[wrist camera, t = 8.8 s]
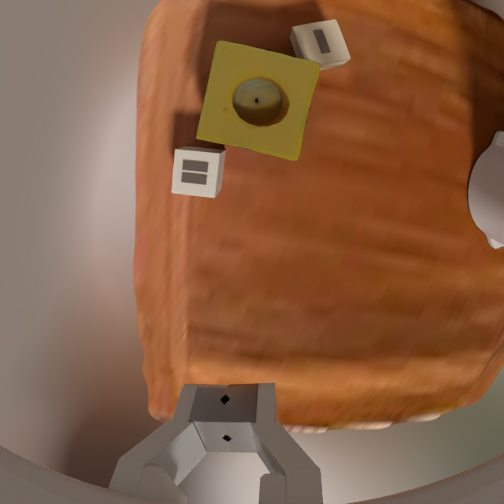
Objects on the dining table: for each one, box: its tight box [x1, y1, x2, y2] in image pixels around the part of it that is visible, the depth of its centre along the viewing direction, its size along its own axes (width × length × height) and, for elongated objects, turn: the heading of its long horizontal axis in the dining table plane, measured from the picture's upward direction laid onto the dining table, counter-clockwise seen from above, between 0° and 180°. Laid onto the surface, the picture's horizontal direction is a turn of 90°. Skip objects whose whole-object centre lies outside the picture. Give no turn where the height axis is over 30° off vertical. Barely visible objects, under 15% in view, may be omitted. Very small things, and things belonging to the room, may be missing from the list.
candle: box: [196, 40, 321, 161], centre depth 29 cm, size 10×10×10 cm
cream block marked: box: [172, 146, 226, 198], centre depth 35 cm, size 5×5×5 cm
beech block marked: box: [290, 19, 351, 70], centre depth 29 cm, size 5×5×5 cm
